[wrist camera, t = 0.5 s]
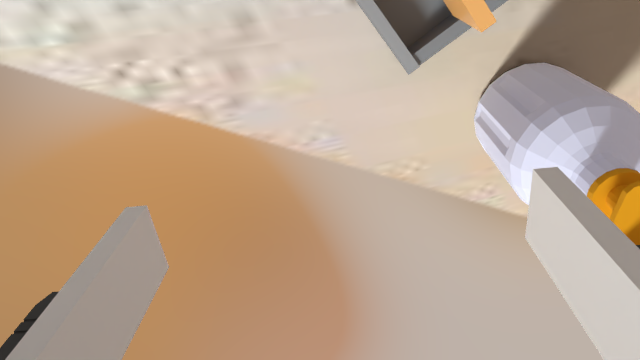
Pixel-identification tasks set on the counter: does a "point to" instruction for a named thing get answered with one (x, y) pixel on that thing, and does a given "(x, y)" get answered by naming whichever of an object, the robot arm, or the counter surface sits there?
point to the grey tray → (416, 27)
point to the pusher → (472, 13)
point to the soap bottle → (564, 137)
